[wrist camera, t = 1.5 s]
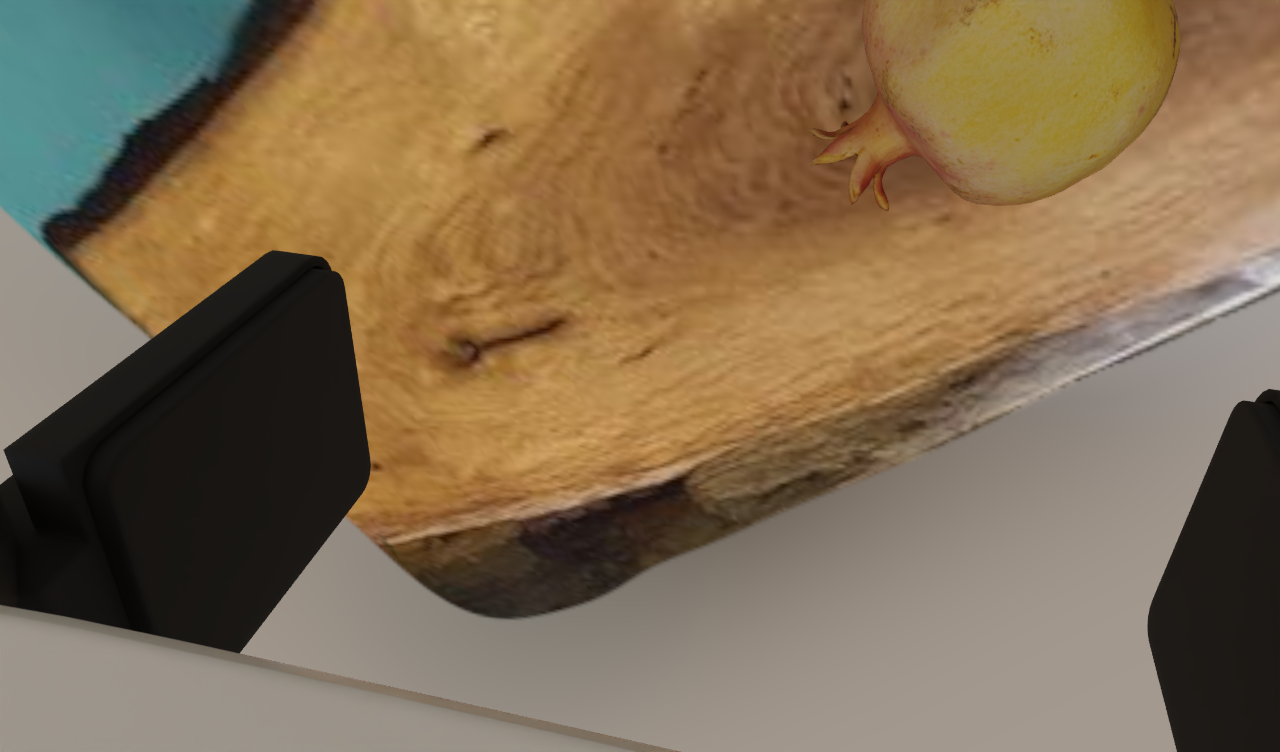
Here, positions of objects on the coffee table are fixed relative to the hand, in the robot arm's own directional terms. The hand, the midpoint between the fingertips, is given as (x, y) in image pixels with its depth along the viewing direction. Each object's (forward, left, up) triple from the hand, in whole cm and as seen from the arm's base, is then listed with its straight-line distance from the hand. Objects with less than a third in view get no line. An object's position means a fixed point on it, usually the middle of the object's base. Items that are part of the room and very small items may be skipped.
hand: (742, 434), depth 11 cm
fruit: (-4, 0, -19) cm, 20 cm away
